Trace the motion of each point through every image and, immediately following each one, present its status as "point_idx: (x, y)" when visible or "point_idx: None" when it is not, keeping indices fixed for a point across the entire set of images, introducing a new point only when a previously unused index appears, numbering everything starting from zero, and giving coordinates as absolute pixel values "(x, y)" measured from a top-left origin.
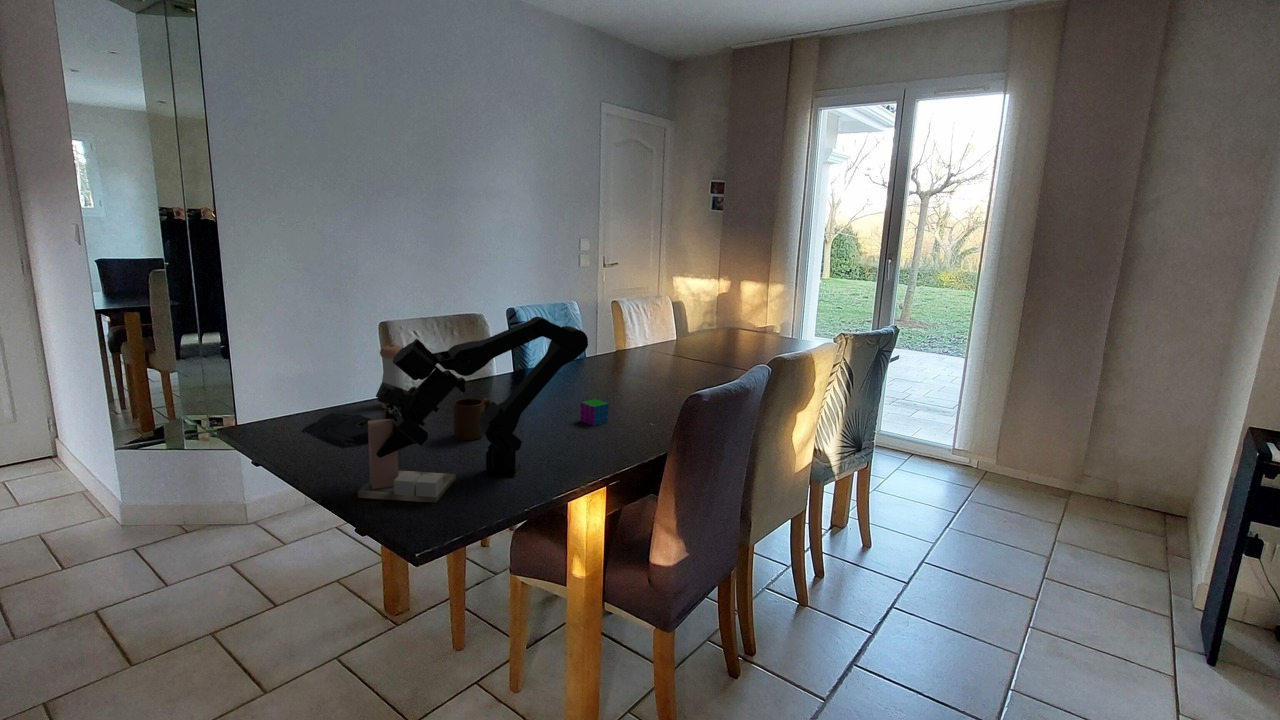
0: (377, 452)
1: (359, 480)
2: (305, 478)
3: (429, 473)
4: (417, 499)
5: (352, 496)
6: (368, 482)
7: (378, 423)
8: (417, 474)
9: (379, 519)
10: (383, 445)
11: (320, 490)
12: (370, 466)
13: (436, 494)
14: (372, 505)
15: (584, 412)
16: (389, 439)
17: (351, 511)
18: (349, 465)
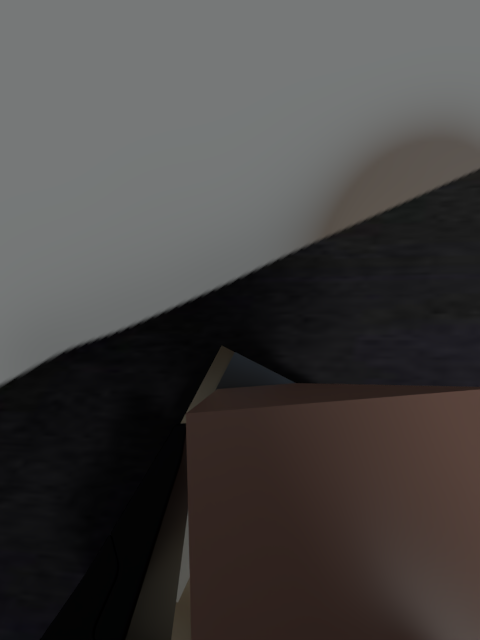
0: (180, 432)
1: (348, 353)
2: (390, 225)
3: None
4: None
5: (236, 334)
6: (281, 377)
7: (357, 537)
8: (179, 583)
9: (55, 400)
10: (137, 492)
11: (301, 260)
12: (273, 386)
13: None
14: (155, 384)
15: None
16: (77, 587)
17: (138, 331)
18: (472, 327)
